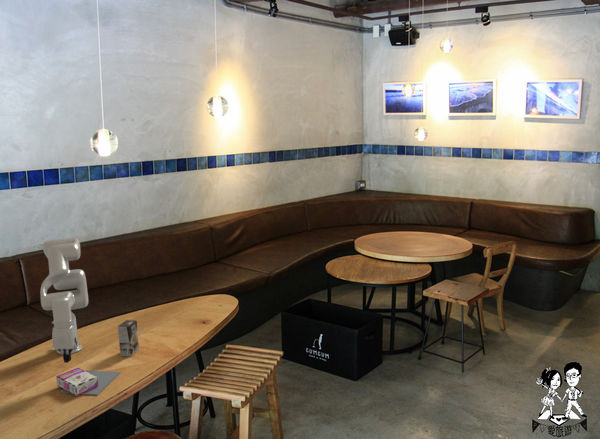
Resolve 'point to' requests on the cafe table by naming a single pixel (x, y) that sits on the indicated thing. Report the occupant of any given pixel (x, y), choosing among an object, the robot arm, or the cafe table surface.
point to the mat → (99, 381)
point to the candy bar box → (77, 381)
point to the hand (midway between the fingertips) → (67, 361)
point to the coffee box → (128, 338)
